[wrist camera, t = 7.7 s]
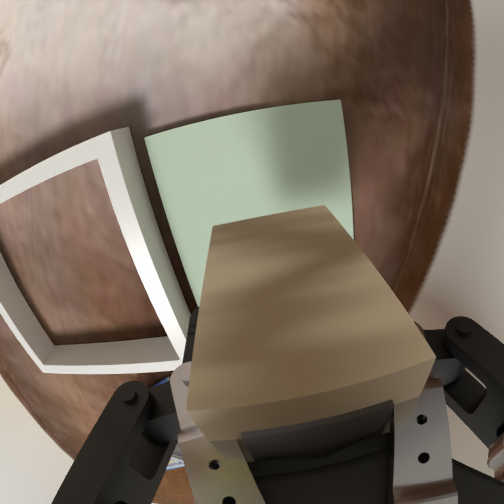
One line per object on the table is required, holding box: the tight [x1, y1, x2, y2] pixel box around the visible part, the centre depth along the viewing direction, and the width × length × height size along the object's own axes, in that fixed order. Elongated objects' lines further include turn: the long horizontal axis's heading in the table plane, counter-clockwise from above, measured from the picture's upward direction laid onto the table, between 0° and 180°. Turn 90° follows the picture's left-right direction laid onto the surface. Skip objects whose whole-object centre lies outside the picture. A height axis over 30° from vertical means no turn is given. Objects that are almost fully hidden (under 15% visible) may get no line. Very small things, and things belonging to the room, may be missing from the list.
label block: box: [186, 205, 436, 462], centre depth 9 cm, size 4×6×8 cm
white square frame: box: [0, 127, 191, 374], centre depth 19 cm, size 18×18×3 cm
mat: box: [144, 100, 354, 307], centre depth 19 cm, size 14×12×1 cm
